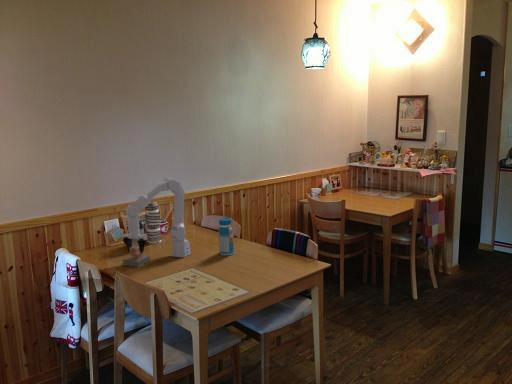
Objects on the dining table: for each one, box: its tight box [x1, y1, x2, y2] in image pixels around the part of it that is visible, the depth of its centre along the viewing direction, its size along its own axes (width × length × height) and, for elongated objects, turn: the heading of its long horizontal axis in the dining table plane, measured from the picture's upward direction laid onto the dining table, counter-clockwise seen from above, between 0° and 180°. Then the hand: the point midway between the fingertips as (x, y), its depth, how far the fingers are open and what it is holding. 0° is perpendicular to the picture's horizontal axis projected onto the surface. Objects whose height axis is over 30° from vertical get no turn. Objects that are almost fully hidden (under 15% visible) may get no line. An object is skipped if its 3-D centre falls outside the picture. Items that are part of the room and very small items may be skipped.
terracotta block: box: [129, 246, 143, 260], centre depth 250 cm, size 4×4×6 cm
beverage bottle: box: [218, 217, 235, 256], centre depth 260 cm, size 8×8×20 cm
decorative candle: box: [144, 201, 163, 244], centre depth 287 cm, size 9×9×25 cm
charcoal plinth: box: [122, 254, 151, 267], centre depth 251 cm, size 10×10×3 cm
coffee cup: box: [132, 222, 145, 247], centre depth 274 cm, size 9×9×15 cm
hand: (135, 251), depth 250 cm, fingers open, 7 cm apart
